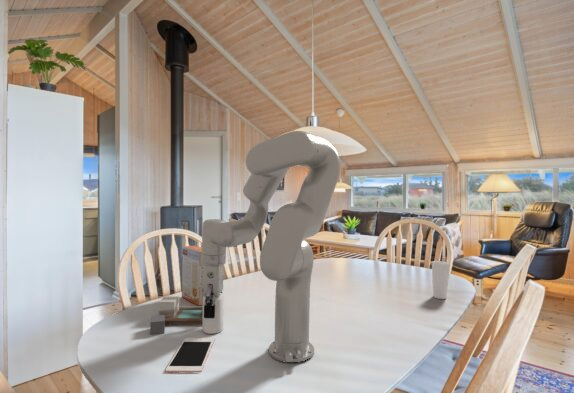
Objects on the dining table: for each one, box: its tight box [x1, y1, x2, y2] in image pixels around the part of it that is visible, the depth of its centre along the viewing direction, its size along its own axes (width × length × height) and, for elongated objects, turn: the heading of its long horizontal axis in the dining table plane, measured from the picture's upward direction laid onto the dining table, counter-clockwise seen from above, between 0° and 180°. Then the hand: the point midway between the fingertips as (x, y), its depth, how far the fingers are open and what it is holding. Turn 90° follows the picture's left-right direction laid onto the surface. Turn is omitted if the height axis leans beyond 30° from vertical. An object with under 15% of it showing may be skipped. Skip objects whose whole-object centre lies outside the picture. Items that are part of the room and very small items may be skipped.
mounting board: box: [158, 295, 203, 326], centre depth 116 cm, size 12×20×6 cm, turn 93°
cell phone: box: [165, 337, 215, 374], centre depth 92 cm, size 9×18×1 cm, turn 2°
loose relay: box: [149, 315, 166, 336], centre depth 106 cm, size 5×4×4 cm
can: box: [201, 292, 225, 335], centre depth 107 cm, size 6×6×12 cm
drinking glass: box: [431, 260, 450, 300], centre depth 143 cm, size 7×7×15 cm
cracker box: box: [181, 245, 205, 306], centre depth 134 cm, size 14×6×21 cm, turn 43°
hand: (211, 311), depth 108 cm, fingers open, 9 cm apart
